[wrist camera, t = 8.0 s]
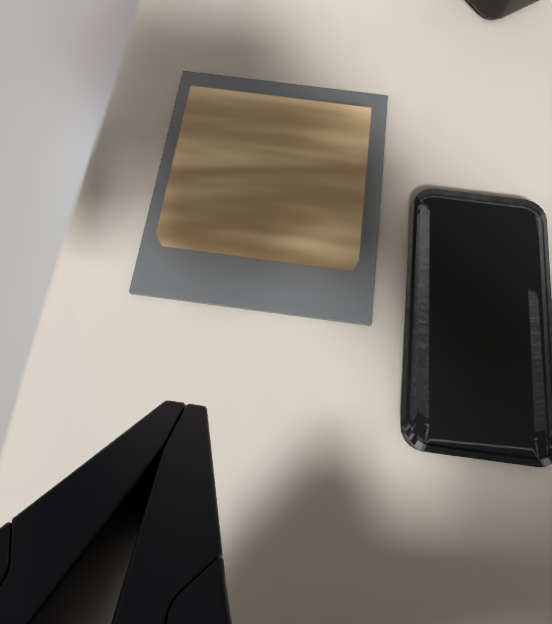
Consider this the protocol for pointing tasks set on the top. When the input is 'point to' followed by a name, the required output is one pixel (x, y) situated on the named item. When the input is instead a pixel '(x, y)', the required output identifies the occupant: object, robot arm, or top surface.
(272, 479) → the top surface
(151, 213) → the charcoal mat
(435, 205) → the phone
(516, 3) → the wine bottle
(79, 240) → the top surface
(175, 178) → the oak block
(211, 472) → the robot arm
